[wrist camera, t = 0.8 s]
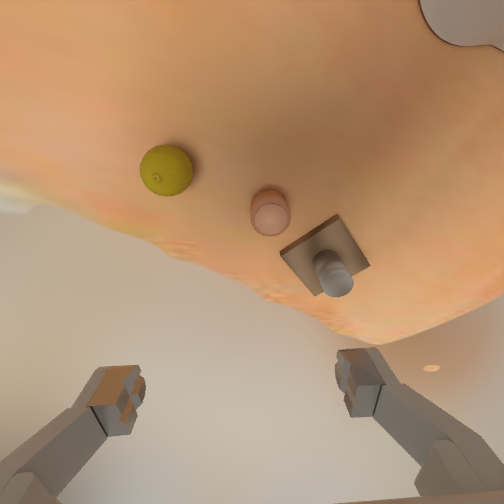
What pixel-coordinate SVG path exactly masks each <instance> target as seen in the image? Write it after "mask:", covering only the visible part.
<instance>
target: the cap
mask: <svg viewBox="0 0 504 504" xmlns="http://www.w3.org/2000/svg"><path fill="white" fill-rule="evenodd" d="M290 219H291V215H290V211H289V208H288V205H287V203H286V200H285V198H284V196H283V195H282V194H281V193H280V192H278V191H276V190H273V189H266V190H263V191H261V192H259V193H258V194H256V196H255V197H254V198H253V200H252V204H251V222H252V225H253V227H254V229H255V230H256V231H257V232H258V233H260V234H262V235H264V236H276V235H279V234H281V233H282V232H284V231H285V230H286V229H287V227H288V226H289V223H290Z"/></svg>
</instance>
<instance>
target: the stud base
mask: <svg viewBox="0 0 504 504" xmlns="http://www.w3.org/2000/svg"><path fill="white" fill-rule="evenodd" d="M280 255H281V257H282V259H283V260H284V261H285V262H286V263H287V265H288V266H289V267H290V268H291V269H292V270H293V272H294V273H295V274H296V275H297V276H298V277H299V279H300V280H301V281H302V282H303V283H304V285H305V286H306V287H307V288H308V289H309V290H310V292H311V293H312V294H313V295H314V296H317V295H319V294H320V293H322V292H325V294H327V295H328V296H331V297H341V296H344V295H346V294H347V293H349V292H350V291H351V289H352V288H353V284H354V282H353V279H352V277H351V276H353V275H355V274H357V273H359V272H360V271H362V270H364V269H366V268H368V267H369V266H370V264H369V263H368V261H367V260H366V258H365V257H364V255H363V253H362V252H361V250H360V249H359V247H358V246H357V244H356V243H355V241H354V240H353V238H352V236H351V235H350V233H349V232H348V230H347V229H346V227H345V226H344V224H343V223H342V221H341V219H340V218H339V217H338V216H337V215H335V216H334V217H332V218H331V219H329V220H328V221H326V222H324V223H323V224H321V225H320V226H318V227H317V228H315V229H314V230H312V231H311V232H309V233H308V234H306V235H305V236H303V237H301V238H300V239H298V240H297V241H295V242H294V243H292V244H291V245H289V246H288V247H286V248H285V249H283V250H282V251H280Z"/></svg>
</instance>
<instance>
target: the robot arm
mask: <svg viewBox="0 0 504 504" xmlns="http://www.w3.org/2000/svg"><path fill="white" fill-rule="evenodd" d="M420 4H421V8H422V11H423V14H424V16H425V18H426V21H427V22H428V24H429V26H430V27H431V29H432V30H433V31H434V32H435V33H436V34H437V35H438V36H439V37H440V38H442V39H443V40H445V41H447V42H449V43H451V44H454V45H459V46H478V45H493V46H495V47H496V48H498V49H500V50H502V51H504V0H420ZM337 359H338V362H337V363H336V364H335V376H336V380H337V384H338V386H339V389H340V390H341V391H342V392H344V393H345V396H344V402H345V404H346V407H347V409H348V412H349V414H350V417H351V418H353V417H373V418H374V419H375V420H376V421H377V422H378V423H379V424H380V425H381V426H382V427H383V428H384V429H385V430H386V431H387V432H388V433H389V434H390V435H391V436H392V437H393V438H394V439H395V440H396V441H397V442H398V443H399V444H400V445H401V446H402V447H403V448H404V449H405V450H406V451H407V452H408V454H409V455H411V457H412V458H414V459H415V461H416V462H417V463H419V465H420V466H421V469H420V471H419V473H418V475H417V477H416V479H415V482H414V484H415V486H416V488H417V490H418V492H419V494H420V496H421V497H412V498H399V499H386V500H374V501H362V502H350V503H338V504H504V464H503V463H502V462H501V461H500V459H499V458H498V457H497V456H496V454H495V453H494V452H493V451H492V449H491V448H490V447H489V446H488V444H487V443H486V442H485V441H484V439H482V437H481V436H480V435H479V434H477V433H476V432H474V431H473V430H471V429H470V428H468V427H467V426H466V425H464V424H463V423H461V422H460V421H458V420H456V419H455V418H454V417H452V416H451V415H449V414H448V413H447V412H445V411H444V410H442V409H441V408H439V407H438V406H436V405H435V404H434V403H432V402H430V401H429V400H428V399H426V398H425V397H423V396H422V395H420V394H419V393H418V392H416V391H415V390H413V389H412V388H410V387H409V386H407V385H406V384H401V383H400V382H399V380H398V379H397V377H396V376H395V374H394V373H393V371H392V370H391V369H390V367H389V365H388V364H387V362H386V361H385V359H384V358H383V356H382V355H381V353H380V352H379V350H378V349H377V348H376V347H372V348H357V349H346V350H338V352H337ZM140 372H141V369H140V367H139V365H128V366H127V365H126V366H108V367H98V368H97V369H96V370H95V371H94V373H93V374H92V376H91V377H90V379H89V381H88V382H87V384H86V385H85V387H84V388H83V390H82V392H81V393H80V395H79V396H78V398H77V399H76V401H75V403H74V404H73V406H72V407H71V408H69V409H66V410H65V411H64V412H62V413H61V414H60V415H58V416H57V417H56V418H55V419H53V420H52V421H51V422H50V423H48V424H47V425H46V426H45V427H43V428H42V429H41V430H39V431H38V432H37V433H36V434H34V435H33V436H32V437H31V438H30V439H28V440H27V441H26V442H24V443H23V444H22V445H21V446H19V447H18V448H17V449H16V450H14V451H13V452H12V453H10V454H9V455H8V456H7V457H5V458H4V459H3V460H2V461H1V462H0V504H61V503H60V502H59V500H57V498H56V497H57V496H58V495H59V494H60V492H61V491H62V490H63V489H64V488H65V487H66V486H67V484H68V483H69V482H70V481H71V480H72V479H73V477H74V476H75V475H76V474H77V473H78V472H79V470H80V469H81V468H82V467H83V466H84V465H85V464H86V462H87V461H88V460H89V459H90V458H91V457H92V456H93V454H94V453H95V452H96V451H97V450H98V449H99V447H100V446H101V445H102V444H103V443H104V442H105V441H106V439H107V437H111V436H120V435H129V434H131V431H132V429H133V426H134V423H135V421H136V418H137V412H136V409H137V408H138V407H139V406H140V405H141V404H142V402H143V399H144V396H145V390H146V385H145V380H144V378H143V377H141V376H140V375H139V374H140Z"/></svg>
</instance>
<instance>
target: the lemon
mask: <svg viewBox="0 0 504 504" xmlns="http://www.w3.org/2000/svg"><path fill="white" fill-rule="evenodd" d="M140 175H141V178H142V181H143V182H144V184H145V186H146V187H147V188H148V189H149V190H151V191H152V192H154V193H155V194H158V195H160V196H174V195H177V194H180V193H181V192H183V191H184V190H185V189H186V188H187V187H188V186H189V185H190V183H191V180H192V177H193V167H192V164H191V161H190V159H189V158H188V156H187V155H186V154H185V153H184V152H183V151H182V150H180V149H179V148H177V147H175V146H171V145H160V146H156V147H154V148H152V149H150V150H149V151H148V152H147V153H146V154H145V155H144V157H143V159H142V161H141V164H140Z"/></svg>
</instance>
